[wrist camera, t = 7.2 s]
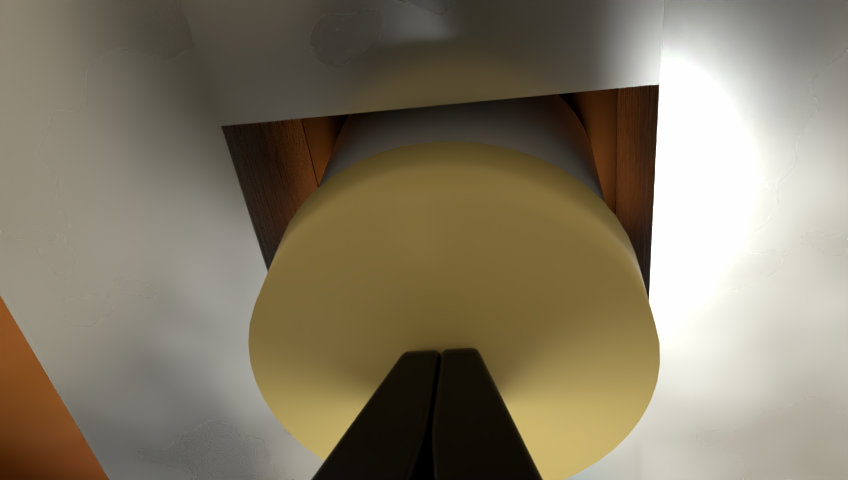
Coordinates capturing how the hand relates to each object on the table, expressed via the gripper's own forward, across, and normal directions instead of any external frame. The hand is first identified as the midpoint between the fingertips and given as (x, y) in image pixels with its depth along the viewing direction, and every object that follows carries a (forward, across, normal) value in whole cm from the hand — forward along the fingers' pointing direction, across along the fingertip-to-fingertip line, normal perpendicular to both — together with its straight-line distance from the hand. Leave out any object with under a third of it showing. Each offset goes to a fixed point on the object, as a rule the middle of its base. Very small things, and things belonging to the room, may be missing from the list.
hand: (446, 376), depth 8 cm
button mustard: (+4, 0, 0) cm, 4 cm away
